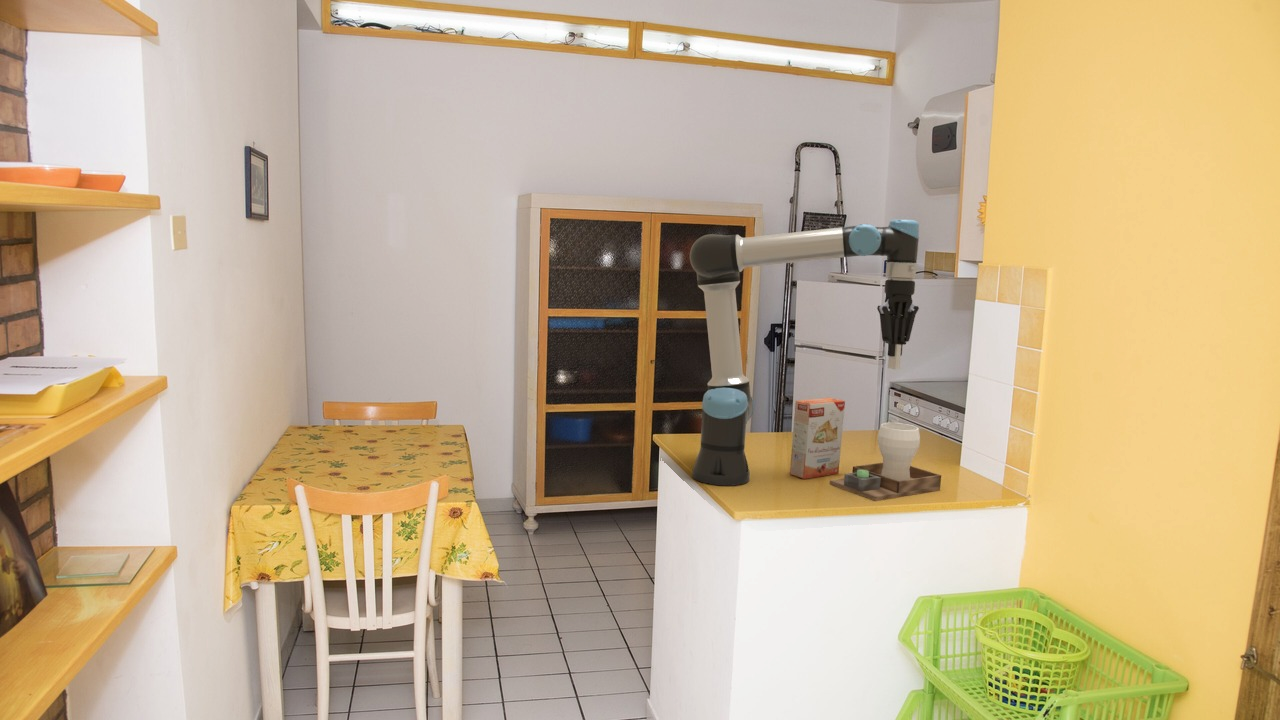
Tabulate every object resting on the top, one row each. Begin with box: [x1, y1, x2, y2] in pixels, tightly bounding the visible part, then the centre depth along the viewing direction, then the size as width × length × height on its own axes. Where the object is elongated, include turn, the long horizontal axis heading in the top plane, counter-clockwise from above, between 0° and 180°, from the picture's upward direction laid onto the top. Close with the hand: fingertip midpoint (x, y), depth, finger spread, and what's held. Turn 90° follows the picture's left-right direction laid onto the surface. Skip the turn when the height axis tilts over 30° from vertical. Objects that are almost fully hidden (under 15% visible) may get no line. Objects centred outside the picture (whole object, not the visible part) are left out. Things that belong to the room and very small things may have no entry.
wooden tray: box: [829, 462, 942, 502], centre depth 224 cm, size 24×16×4 cm, turn 121°
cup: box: [877, 422, 921, 481], centre depth 225 cm, size 11×11×15 cm
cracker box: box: [789, 397, 846, 480], centre depth 232 cm, size 14×6×21 cm, turn 125°
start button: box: [857, 469, 869, 478], centre depth 219 cm, size 3×3×4 cm
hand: (893, 368), depth 225 cm, fingers closed
